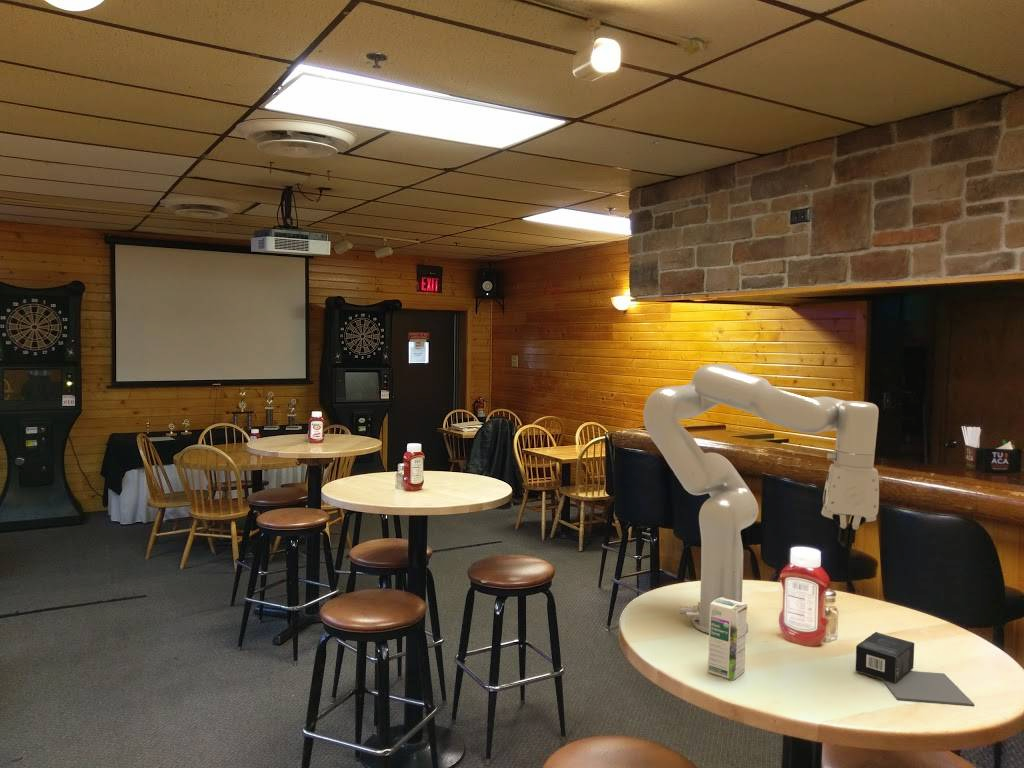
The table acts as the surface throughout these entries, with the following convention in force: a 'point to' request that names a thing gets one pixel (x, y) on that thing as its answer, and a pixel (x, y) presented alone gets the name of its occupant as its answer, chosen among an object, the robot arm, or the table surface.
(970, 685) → the table surface
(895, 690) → the mat
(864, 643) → the box
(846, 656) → the table surface
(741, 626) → the syrup box
